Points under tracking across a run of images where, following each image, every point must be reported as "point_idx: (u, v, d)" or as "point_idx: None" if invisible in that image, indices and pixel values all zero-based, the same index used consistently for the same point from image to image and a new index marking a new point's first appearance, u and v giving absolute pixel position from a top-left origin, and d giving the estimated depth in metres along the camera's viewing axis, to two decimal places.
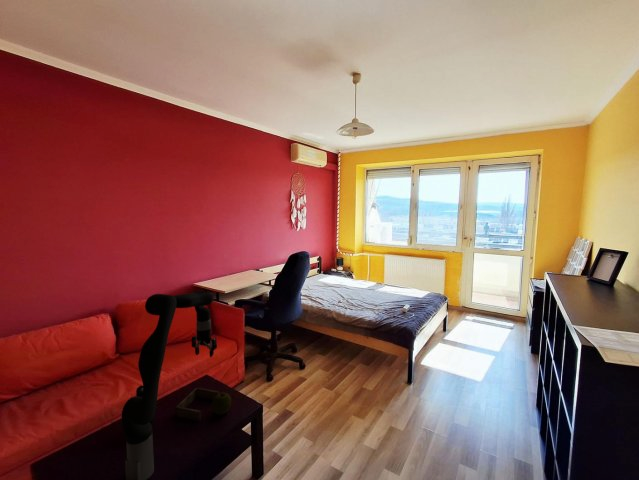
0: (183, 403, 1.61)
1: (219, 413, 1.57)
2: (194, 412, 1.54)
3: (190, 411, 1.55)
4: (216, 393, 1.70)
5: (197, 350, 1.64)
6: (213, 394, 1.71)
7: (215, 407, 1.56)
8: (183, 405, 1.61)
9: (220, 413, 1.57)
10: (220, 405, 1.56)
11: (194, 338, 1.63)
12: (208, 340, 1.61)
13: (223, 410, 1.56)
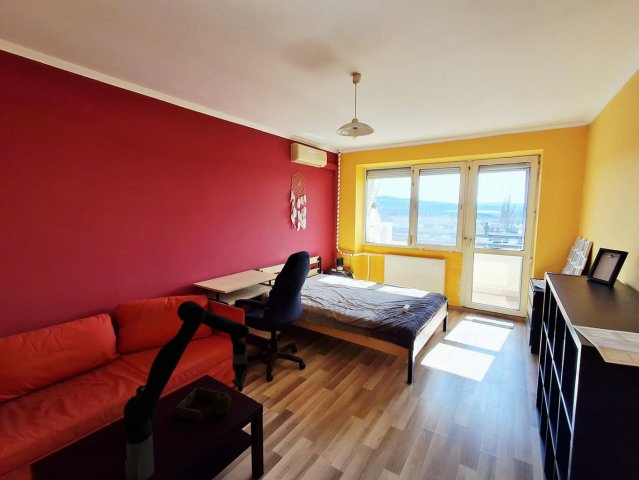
0: (183, 403, 1.61)
1: (219, 413, 1.57)
2: (194, 412, 1.54)
3: (190, 411, 1.55)
4: (216, 393, 1.70)
5: None
6: (213, 394, 1.71)
7: (215, 407, 1.56)
8: (183, 405, 1.61)
9: (220, 413, 1.57)
10: (220, 405, 1.56)
11: None
12: (244, 371, 1.59)
13: (223, 410, 1.56)
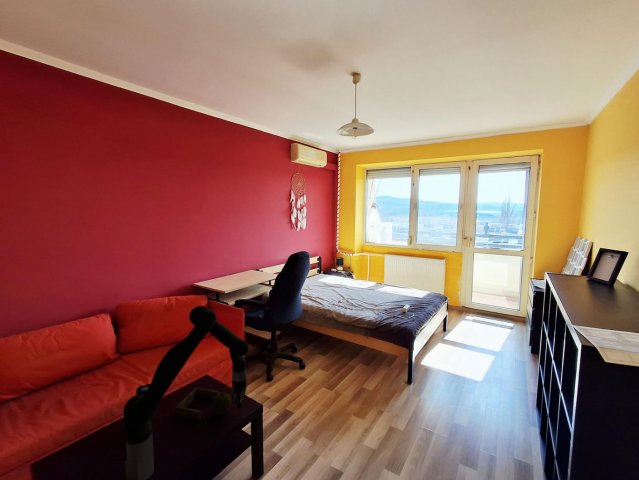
0: (183, 403, 1.61)
1: (219, 413, 1.57)
2: (194, 412, 1.54)
3: (190, 411, 1.55)
4: (216, 393, 1.70)
5: None
6: (213, 394, 1.71)
7: (215, 407, 1.56)
8: (183, 405, 1.61)
9: (220, 413, 1.57)
10: (220, 405, 1.56)
11: (235, 398, 1.52)
12: (244, 388, 1.60)
13: (223, 410, 1.56)
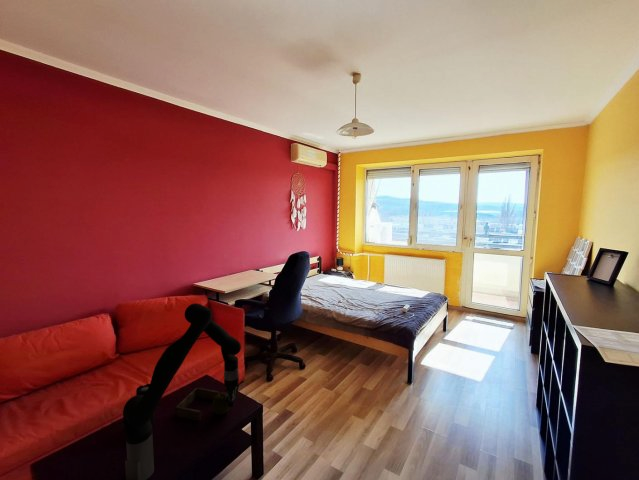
0: (183, 403, 1.61)
1: (219, 413, 1.57)
2: (194, 412, 1.54)
3: (190, 411, 1.55)
4: (216, 393, 1.70)
5: None
6: (213, 394, 1.71)
7: (215, 407, 1.56)
8: (183, 405, 1.61)
9: (220, 413, 1.57)
10: (220, 405, 1.56)
11: None
12: (236, 387, 1.61)
13: (223, 410, 1.56)
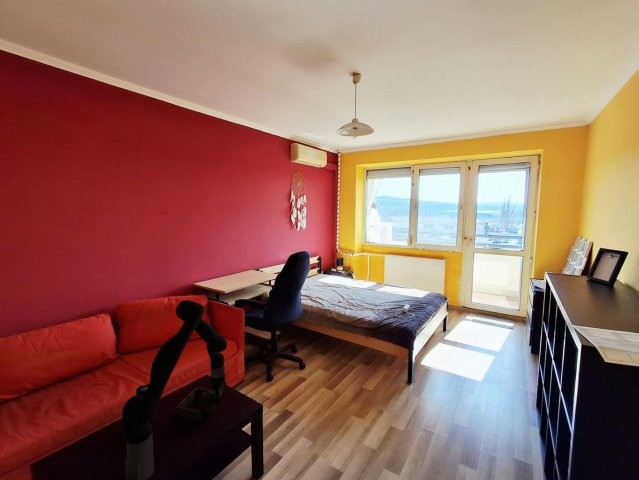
0: (183, 403, 1.61)
1: (207, 411, 1.57)
2: (194, 412, 1.54)
3: (190, 411, 1.55)
4: None
5: None
6: None
7: (203, 406, 1.56)
8: (183, 405, 1.61)
9: (208, 411, 1.58)
10: (208, 403, 1.57)
11: None
12: (223, 384, 1.63)
13: (211, 408, 1.58)
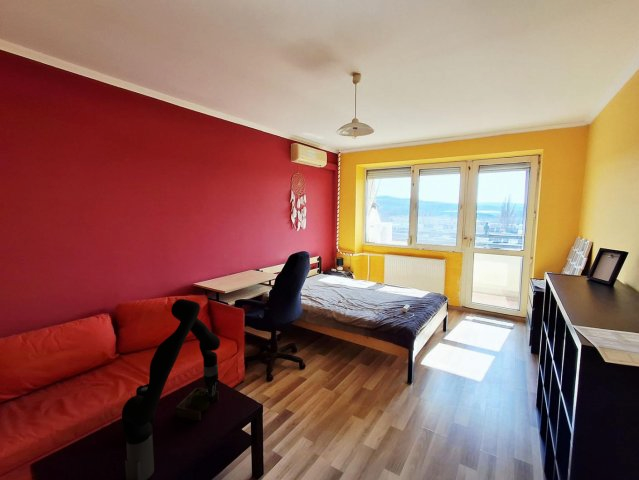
0: (183, 403, 1.61)
1: (200, 410, 1.58)
2: (194, 412, 1.54)
3: (190, 411, 1.55)
4: (216, 393, 1.70)
5: None
6: None
7: (196, 405, 1.57)
8: (183, 405, 1.61)
9: (201, 410, 1.59)
10: (201, 402, 1.58)
11: None
12: (216, 382, 1.64)
13: (204, 406, 1.59)
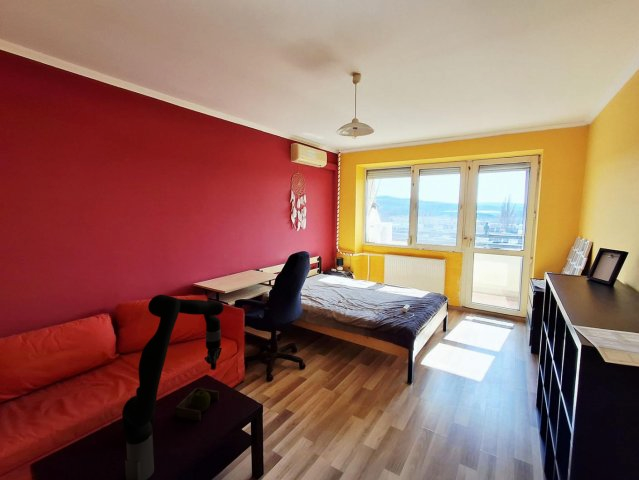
0: (183, 403, 1.61)
1: (200, 410, 1.58)
2: (194, 412, 1.54)
3: (190, 411, 1.55)
4: (216, 393, 1.70)
5: None
6: (213, 394, 1.71)
7: (196, 405, 1.57)
8: (183, 405, 1.61)
9: (201, 410, 1.59)
10: (202, 402, 1.58)
11: None
12: (218, 350, 1.59)
13: (205, 406, 1.59)
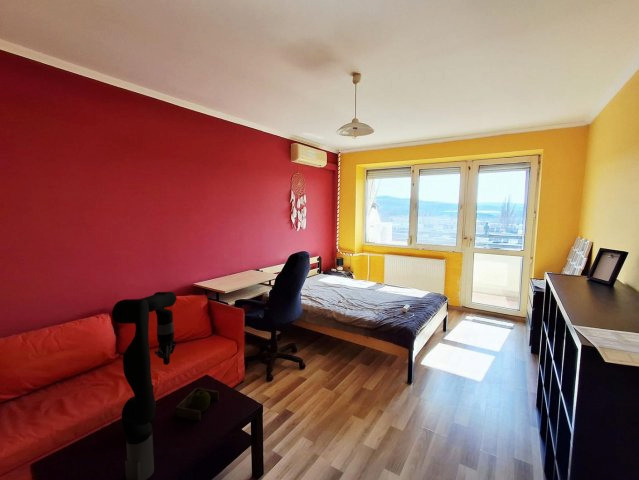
0: (183, 403, 1.61)
1: (200, 410, 1.58)
2: (194, 412, 1.54)
3: (190, 411, 1.55)
4: (216, 393, 1.70)
5: None
6: (213, 394, 1.71)
7: (196, 405, 1.57)
8: (183, 405, 1.61)
9: (201, 410, 1.59)
10: (202, 402, 1.58)
11: (159, 352, 1.43)
12: (172, 344, 1.51)
13: (205, 406, 1.59)
